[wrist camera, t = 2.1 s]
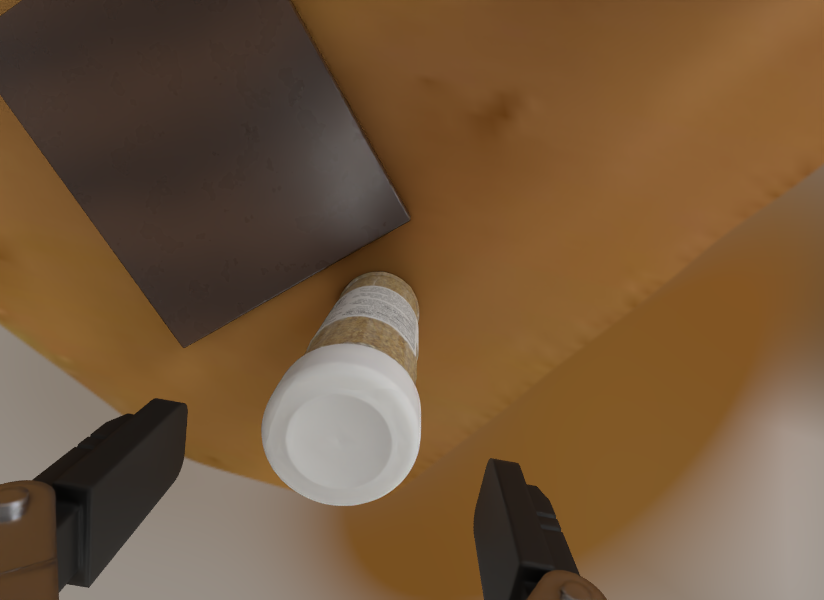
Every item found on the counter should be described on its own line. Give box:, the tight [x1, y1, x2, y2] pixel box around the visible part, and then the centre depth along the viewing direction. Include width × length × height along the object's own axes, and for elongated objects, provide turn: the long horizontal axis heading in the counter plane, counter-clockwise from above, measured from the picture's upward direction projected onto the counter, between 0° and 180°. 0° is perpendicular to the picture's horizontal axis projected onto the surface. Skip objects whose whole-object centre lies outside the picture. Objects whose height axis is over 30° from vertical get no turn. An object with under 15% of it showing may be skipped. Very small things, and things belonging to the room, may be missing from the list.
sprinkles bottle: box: [262, 272, 421, 506], centre depth 20 cm, size 5×5×13 cm
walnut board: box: [0, 0, 411, 348], centre depth 23 cm, size 17×14×2 cm
